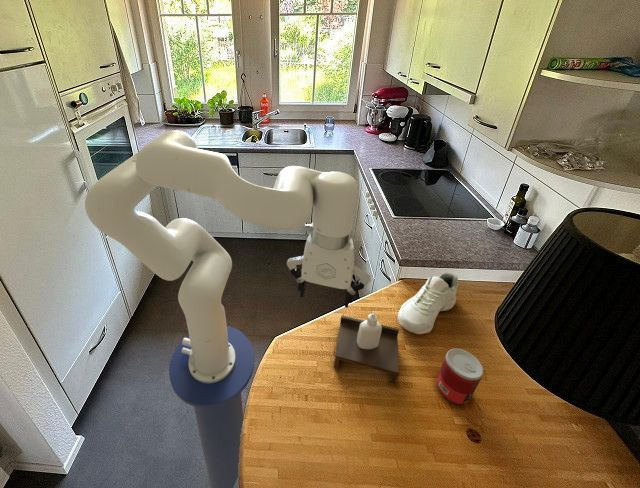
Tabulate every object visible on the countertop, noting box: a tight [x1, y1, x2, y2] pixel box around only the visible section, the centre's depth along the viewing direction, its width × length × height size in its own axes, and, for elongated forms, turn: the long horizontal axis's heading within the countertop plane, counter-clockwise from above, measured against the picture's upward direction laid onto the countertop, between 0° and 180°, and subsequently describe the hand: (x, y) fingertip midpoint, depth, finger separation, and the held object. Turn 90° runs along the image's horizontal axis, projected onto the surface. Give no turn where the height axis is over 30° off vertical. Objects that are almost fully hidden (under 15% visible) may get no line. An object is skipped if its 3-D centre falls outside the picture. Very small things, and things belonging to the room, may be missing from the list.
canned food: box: [436, 348, 484, 405], centre depth 80 cm, size 8×8×11 cm
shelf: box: [333, 315, 400, 385], centre depth 89 cm, size 16×12×7 cm
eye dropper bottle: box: [357, 312, 382, 349], centre depth 86 cm, size 4×6×12 cm
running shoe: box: [397, 272, 459, 335], centre depth 101 cm, size 11×27×14 cm, turn 130°
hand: (324, 297), depth 71 cm, fingers open, 9 cm apart
